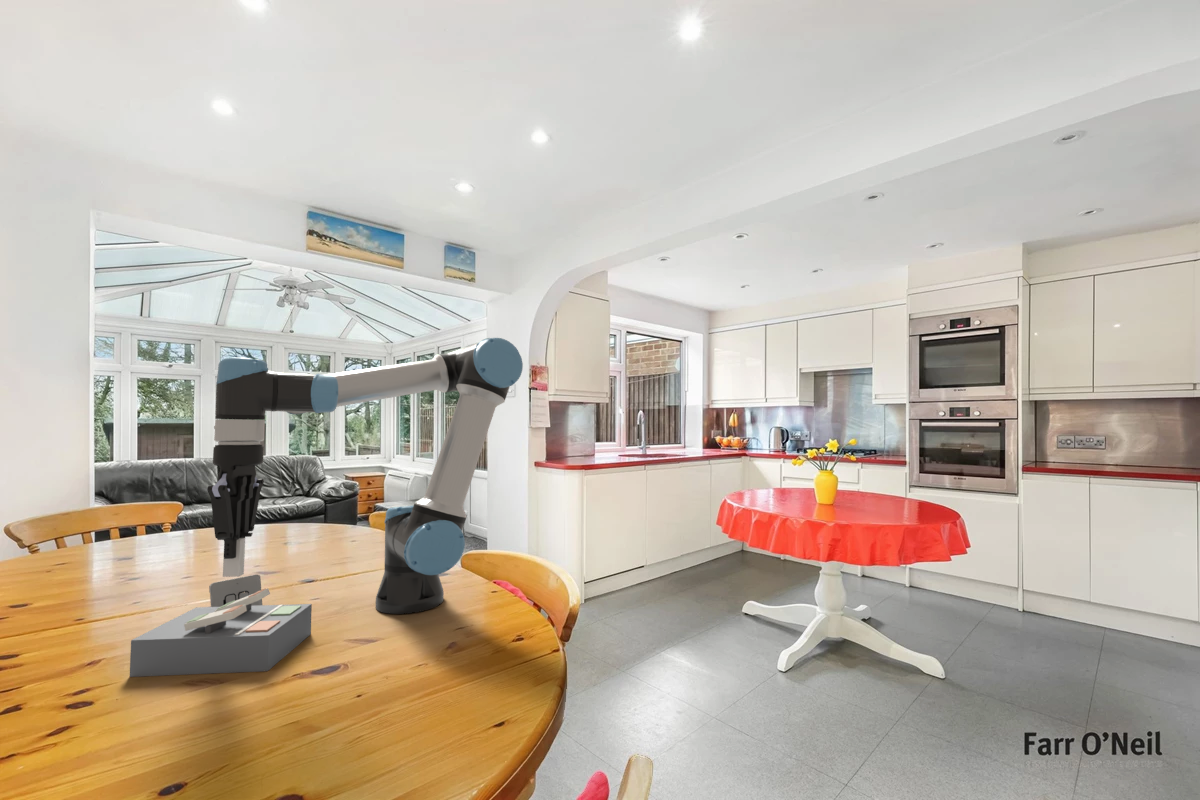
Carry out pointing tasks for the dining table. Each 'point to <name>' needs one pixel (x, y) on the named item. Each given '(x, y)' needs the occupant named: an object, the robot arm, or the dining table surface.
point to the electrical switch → (234, 590)
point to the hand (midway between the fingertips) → (233, 575)
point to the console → (221, 642)
